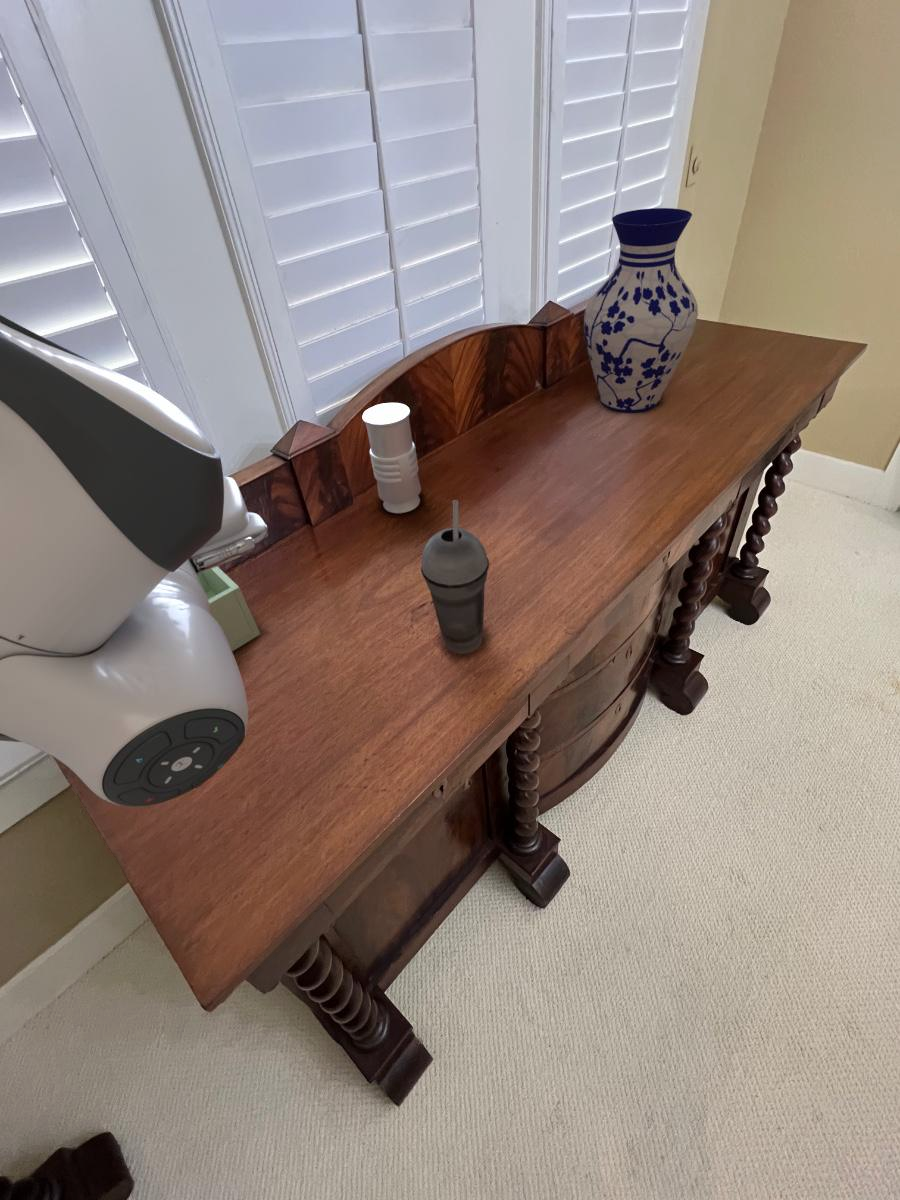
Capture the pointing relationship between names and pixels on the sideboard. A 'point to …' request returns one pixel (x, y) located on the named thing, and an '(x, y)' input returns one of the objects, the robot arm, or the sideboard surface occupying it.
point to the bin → (228, 607)
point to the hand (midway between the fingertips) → (103, 506)
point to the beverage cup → (457, 584)
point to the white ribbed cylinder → (393, 456)
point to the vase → (640, 312)
